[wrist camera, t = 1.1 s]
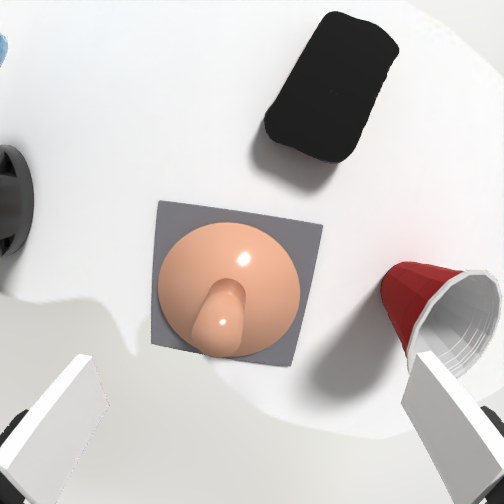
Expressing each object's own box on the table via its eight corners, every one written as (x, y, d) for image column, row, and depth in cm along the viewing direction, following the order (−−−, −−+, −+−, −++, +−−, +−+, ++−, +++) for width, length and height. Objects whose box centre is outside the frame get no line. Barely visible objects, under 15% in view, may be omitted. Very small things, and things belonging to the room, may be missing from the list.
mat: (152, 341, 32) (151, 343, 31) (160, 200, 28) (158, 200, 27) (290, 363, 32) (290, 366, 31) (321, 224, 28) (323, 225, 28)
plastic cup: (421, 335, 31) (470, 390, 19) (346, 322, 31) (384, 389, 19) (453, 252, 29) (521, 284, 17) (379, 226, 28) (443, 255, 16)
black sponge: (333, 174, 27) (344, 173, 24) (256, 134, 27) (255, 126, 23) (391, 54, 24) (405, 41, 20) (323, 16, 23) (330, -1, 20)
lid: (159, 338, 31) (130, 387, 22) (167, 212, 28) (127, 226, 19) (283, 358, 31) (290, 415, 22) (311, 234, 28) (334, 258, 19)
